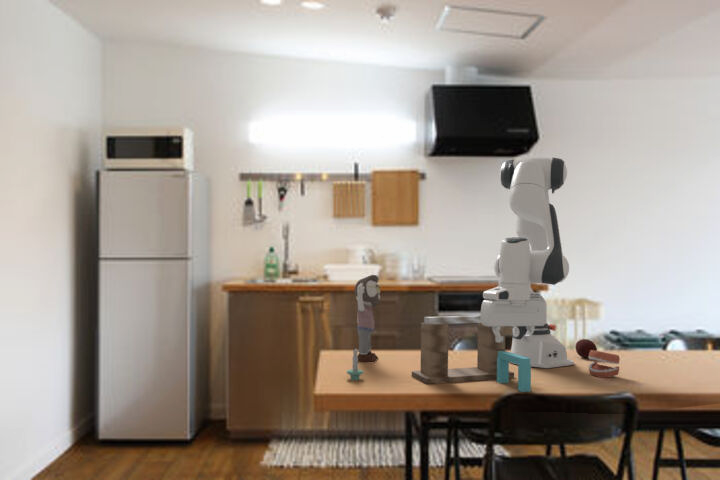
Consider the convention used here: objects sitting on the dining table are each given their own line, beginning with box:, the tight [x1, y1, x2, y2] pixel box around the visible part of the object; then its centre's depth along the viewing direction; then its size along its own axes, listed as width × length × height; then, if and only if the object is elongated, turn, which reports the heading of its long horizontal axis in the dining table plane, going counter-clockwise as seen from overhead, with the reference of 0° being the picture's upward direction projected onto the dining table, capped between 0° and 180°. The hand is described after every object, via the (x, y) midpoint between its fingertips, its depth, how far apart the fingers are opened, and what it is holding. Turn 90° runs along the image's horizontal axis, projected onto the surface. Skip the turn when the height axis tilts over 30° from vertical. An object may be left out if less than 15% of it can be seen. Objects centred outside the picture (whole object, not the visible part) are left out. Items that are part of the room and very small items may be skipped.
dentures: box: [587, 350, 621, 378], centre depth 163 cm, size 9×7×8 cm
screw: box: [346, 348, 364, 381], centre depth 152 cm, size 9×5×5 cm
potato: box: [574, 338, 598, 359], centre depth 192 cm, size 7×8×7 cm
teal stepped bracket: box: [496, 350, 532, 393], centre depth 147 cm, size 3×12×9 cm, turn 20°
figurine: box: [354, 274, 381, 363], centre depth 179 cm, size 18×9×30 cm, turn 168°
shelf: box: [411, 315, 515, 385], centre depth 158 cm, size 30×10×18 cm, turn 110°
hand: (513, 342), depth 147 cm, fingers open, 8 cm apart
